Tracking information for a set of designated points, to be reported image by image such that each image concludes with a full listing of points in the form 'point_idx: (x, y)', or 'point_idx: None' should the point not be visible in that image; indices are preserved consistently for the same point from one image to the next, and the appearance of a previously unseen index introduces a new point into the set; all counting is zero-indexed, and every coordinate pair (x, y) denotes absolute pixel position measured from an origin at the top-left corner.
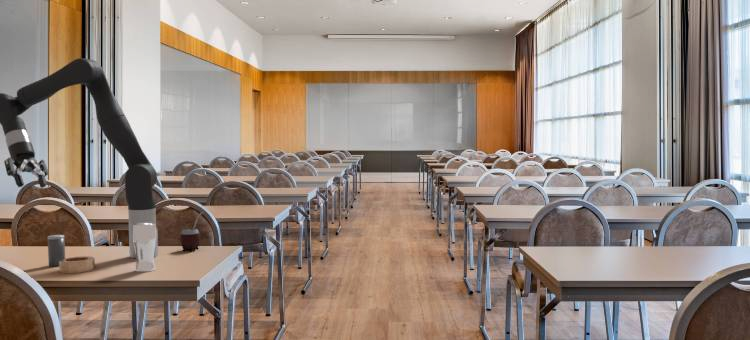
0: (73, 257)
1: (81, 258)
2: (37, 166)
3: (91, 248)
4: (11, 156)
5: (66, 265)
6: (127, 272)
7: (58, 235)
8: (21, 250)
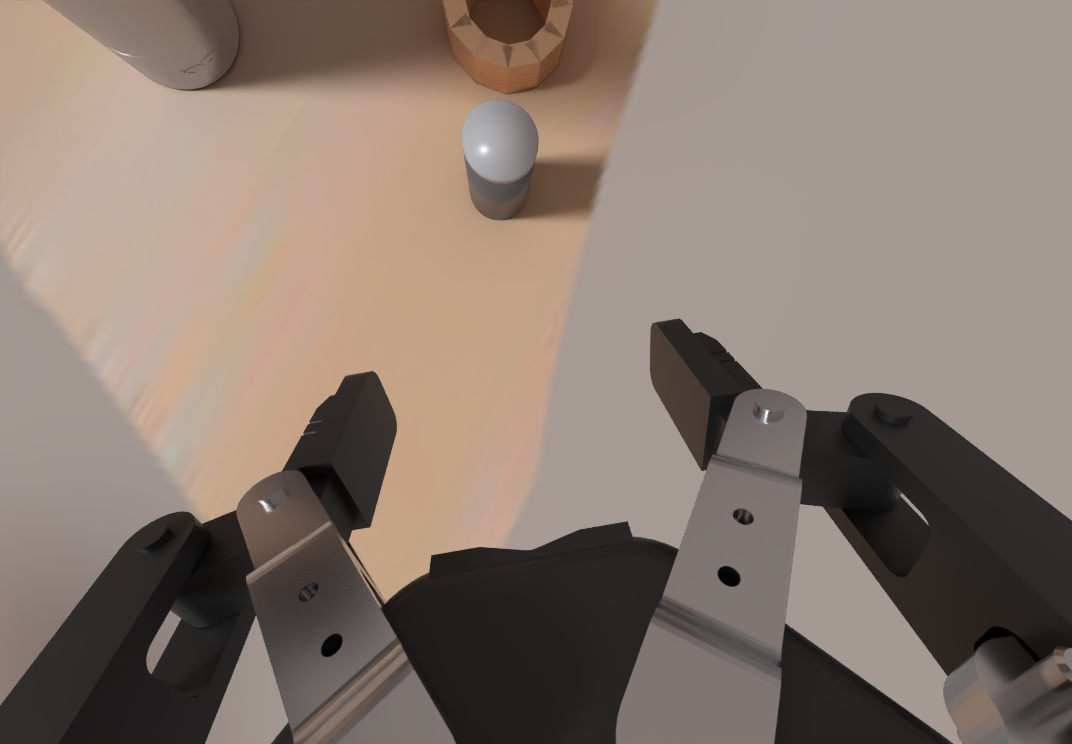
0: (493, 52)
1: (473, 25)
2: (301, 617)
3: (203, 440)
4: None
5: None
6: None
7: (483, 147)
8: None
